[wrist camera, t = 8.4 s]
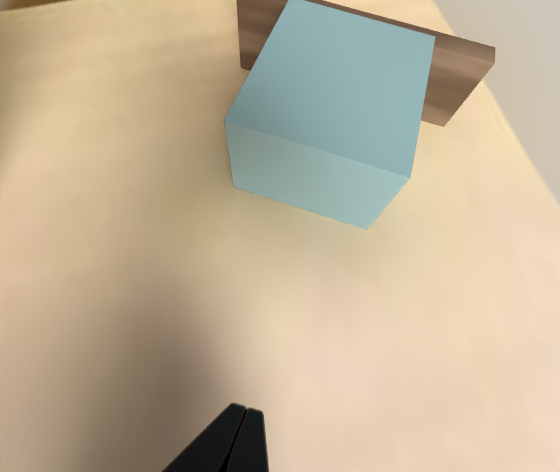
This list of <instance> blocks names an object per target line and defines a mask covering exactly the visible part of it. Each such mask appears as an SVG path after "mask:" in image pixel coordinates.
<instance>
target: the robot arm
mask: <svg viewBox="0 0 560 472" xmlns="http://www.w3.org/2000/svg"><path fill="white" fill-rule="evenodd" d="M162 472H269V466H268V455H267V445H266V434H265V424H264V414H263V412H262V411H261V410H257V409H254V408H248V409H247V407H246V406H244V405H241V404H237V403H231V404H230V405H229V406H228V407H227V408H226V409H225V410H224V411H223V412H222V413H220V414H219V415H218V416H217V417H216V418H215V419H214V420H213V421H212V422H211V423H210V424H209V425H208V426H207V427H206V428H205V429H204V430H203V431H202V432H201V433H200V434H199V435H198V436H197V437H196V438H195V439H194V440H193V441H192V442H191V443H190V444H189V445H188V446H187V447H186V448H185V449H184V450H183V451H182V452H181V453H180V454H179V455H178V456H177V457H176V458H175V459H174V460H173V461H172V462H171V463H170V464H169V465H168V466H167V467H166V468H165V469H164V470H163V471H162Z"/></svg>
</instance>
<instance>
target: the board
mask: <svg viewBox="0 0 560 472" xmlns="http://www.w3.org/2000/svg"><path fill="white" fill-rule="evenodd" d="M305 1H308V2H312V3H315V4H319V5H323V6H326V7H330V8H334V9H337V10H341V11H344V12H348V13H352V14H355V15H359V16H363V17H366V18H370V19H373V20H377V21H381V22H384V23H388V24H392V25H395V26H399V27H402V28H406V29H410V30H413V31H417V32H421V33H424V34H428V35H431V36H435V42H434V48H433V53H432V59H431V64H430V70H429V76H428V81H427V87H426V92H425V98H424V104H423V109H422V115H421V120H422V121H426V122H429V123H433V124H436V125H439V126H443V127H444V126H445V125H446V123H447V122H448V121H449V120H450V118H451V117H452V116H453V115H454V113H455V112H456V111H457V110H458V108H459V107H460V106H461V105H462V103H463V102H464V101H465V100H466V98H467V97H468V96H469V95H470V93H471V92H472V91H473V90H474V88H475V87H476V86H477V85H478V83H479V82H480V81H481V80H482V78H483V77H484V76H485V74H486V73H487V72H488V71H489V69H490V68H491V67H492V66H493V65H494V63H495V47H491V46H488V45H484V44H480V43H477V42H473V41H469V40H466V39H462V38H459V37H455V36H451V35H448V34H444V33H440V32H437V31H433V30H429V29H426V28H422V27H418V26H415V25H411V24H407V23H404V22H400V21H396V20H393V19H389V18H385V17H382V16H378V15H374V14H371V13H367V12H363V11H360V10H356V9H352V8H349V7H345V6H341V5H338V4H334V3H330V2H327V1H323V0H305ZM287 2H288V0H237V14H238V30H239V45H240V61H241V68H245V69H248V70H251V69H252V67H253V66H254V64H255V62H256V60H257V58H258V56H259V54H260V53H261V51H262V49H263V47H264V45H265V43H266V41H267V39H268V38H269V36H270V34H271V32H272V30H273V28H274V26H275V25H276V23H277V21H278V19H279V17H280V15H281V13H282V12H283V10H284V8H285V6H286V4H287Z"/></svg>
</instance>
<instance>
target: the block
mask: <svg viewBox="0 0 560 472" xmlns="http://www.w3.org/2000/svg"><path fill="white" fill-rule="evenodd" d="M434 42H435V36H431V35H428V34H424V33H421V32H417V31H413V30H410V29H406V28H402V27H399V26H395V25H392V24H388V23H384V22H381V21H377V20H373V19H370V18H366V17H363V16H359V15H355V14H352V13H348V12H344V11H341V10H337V9H334V8H330V7H326V6H323V5H319V4H315V3H312V2H308V1H305V0H288V2H287V4H286V6H285V8H284V10H283V12H282V13H281V15H280V17H279V19H278V21H277V23H276V25H275V26H274V28H273V30H272V32H271V34H270V36H269V38H268V39H267V41H266V43H265V45H264V47H263V49H262V51H261V53H260V54H259V56H258V58H257V60H256V62H255V64H254V66H253V67H252V69H251V71H250V73H249V75H248V77H247V79H246V80H245V82H244V84H243V86H242V88H241V90H240V92H239V94H238V95H237V97H236V99H235V101H234V103H233V105H232V107H231V108H230V110H229V112H228V114H227V116H226V118H225V120H224V123H225V130H226V137H227V144H228V150H229V157H230V164H231V171H232V178H233V184H234V187H235V188H239V189H242V190H245V191H248V192H251V193H254V194H257V195H260V196H263V197H267V198H270V199H273V200H276V201H279V202H282V203H285V204H288V205H291V206H294V207H298V208H301V209H304V210H307V211H310V212H313V213H316V214H319V215H322V216H325V217H329V218H332V219H335V220H338V221H341V222H344V223H347V224H350V225H353V226H357V227H360V228H363V229H366V230H367V229H368V227H369V226H370V225H371V224H372V223H373V221H374V220H375V219H376V218H377V217H378V216H379V214H380V213H381V212H382V211H383V210H384V208H385V207H386V206H387V205H388V204H389V202H390V201H391V200H392V199H393V198H394V197H395V195H396V194H397V193H398V192H399V191H400V189H401V188H402V187H403V186H404V185H405V183H406V182H407V181H408V180H409V179H410V176H411V171H412V165H413V160H414V154H415V148H416V143H417V137H418V132H419V126H420V120H421V115H422V109H423V104H424V98H425V92H426V87H427V81H428V76H429V70H430V64H431V59H432V53H433V48H434Z"/></svg>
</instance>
